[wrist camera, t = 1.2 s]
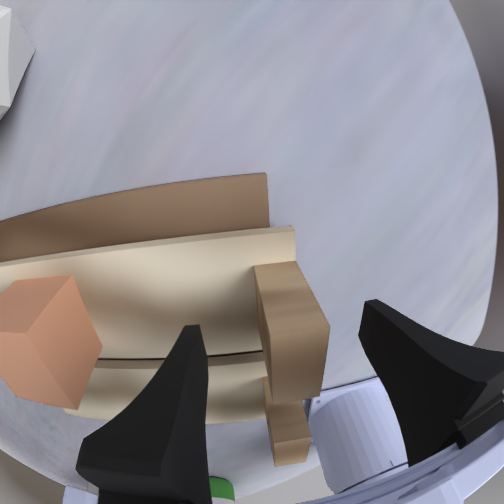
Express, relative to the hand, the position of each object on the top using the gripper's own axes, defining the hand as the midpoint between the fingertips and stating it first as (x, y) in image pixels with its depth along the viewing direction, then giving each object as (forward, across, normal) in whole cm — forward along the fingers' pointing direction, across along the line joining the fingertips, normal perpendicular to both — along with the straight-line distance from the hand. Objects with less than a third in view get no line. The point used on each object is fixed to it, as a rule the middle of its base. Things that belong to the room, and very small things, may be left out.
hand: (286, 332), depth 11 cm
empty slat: (+4, +9, +8) cm, 13 cm away
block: (+3, +13, 0) cm, 13 cm away
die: (+5, +15, -15) cm, 22 cm away
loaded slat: (+4, +9, 0) cm, 10 cm away
